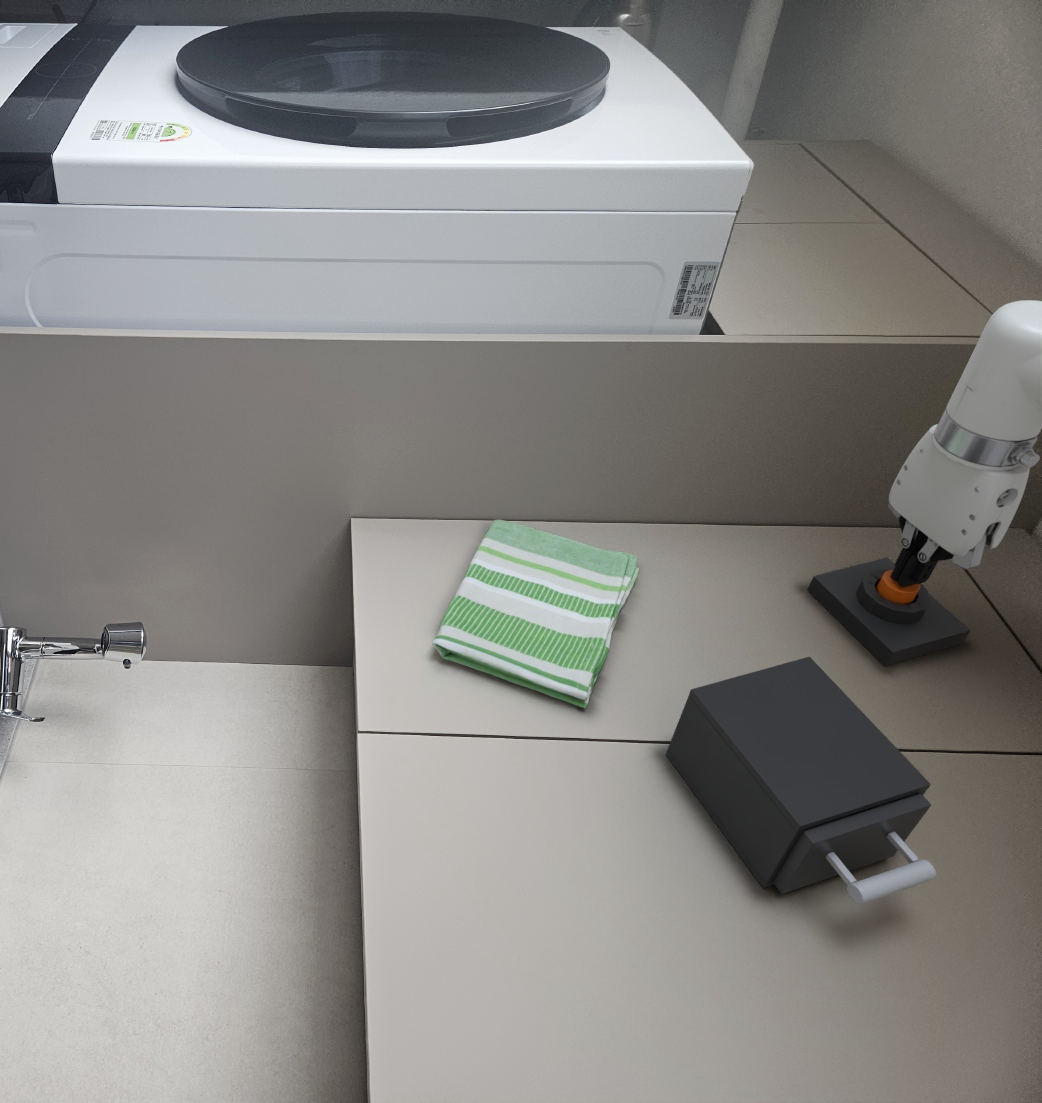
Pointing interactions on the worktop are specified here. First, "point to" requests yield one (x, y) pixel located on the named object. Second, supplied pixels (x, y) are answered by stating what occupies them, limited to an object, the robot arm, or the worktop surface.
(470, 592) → the dish towel
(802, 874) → the dark grey drawer
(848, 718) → the dark grey drawer box
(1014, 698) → the worktop surface
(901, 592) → the button
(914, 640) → the control block
